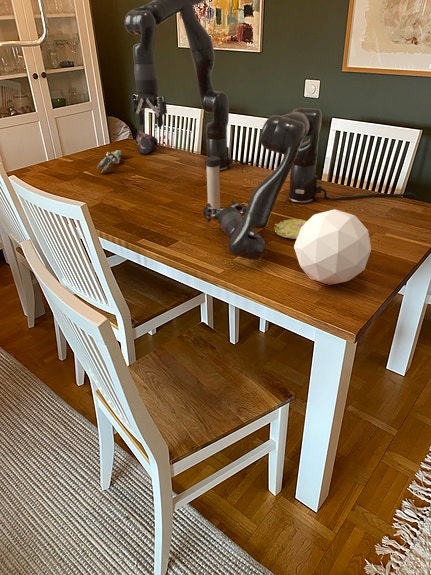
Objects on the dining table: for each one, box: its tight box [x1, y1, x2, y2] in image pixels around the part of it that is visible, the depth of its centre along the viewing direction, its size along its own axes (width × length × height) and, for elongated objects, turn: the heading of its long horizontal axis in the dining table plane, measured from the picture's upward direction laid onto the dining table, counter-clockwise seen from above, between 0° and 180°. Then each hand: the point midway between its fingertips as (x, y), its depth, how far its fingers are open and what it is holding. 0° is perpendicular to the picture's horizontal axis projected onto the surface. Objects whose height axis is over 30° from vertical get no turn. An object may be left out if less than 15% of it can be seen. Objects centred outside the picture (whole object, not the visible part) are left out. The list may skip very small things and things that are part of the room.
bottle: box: [205, 165, 221, 213], centre depth 160 cm, size 5×5×19 cm
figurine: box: [96, 150, 123, 174], centre depth 213 cm, size 7×8×30 cm
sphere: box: [293, 208, 372, 286], centre depth 116 cm, size 19×20×20 cm
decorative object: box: [273, 218, 308, 240], centre depth 145 cm, size 21×2×20 cm
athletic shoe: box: [135, 130, 162, 155], centre depth 233 cm, size 11×22×12 cm
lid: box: [204, 156, 220, 167], centre depth 155 cm, size 5×5×2 cm
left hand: (150, 125), depth 164 cm, fingers open, 8 cm apart
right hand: (220, 204), depth 153 cm, fingers open, 8 cm apart
